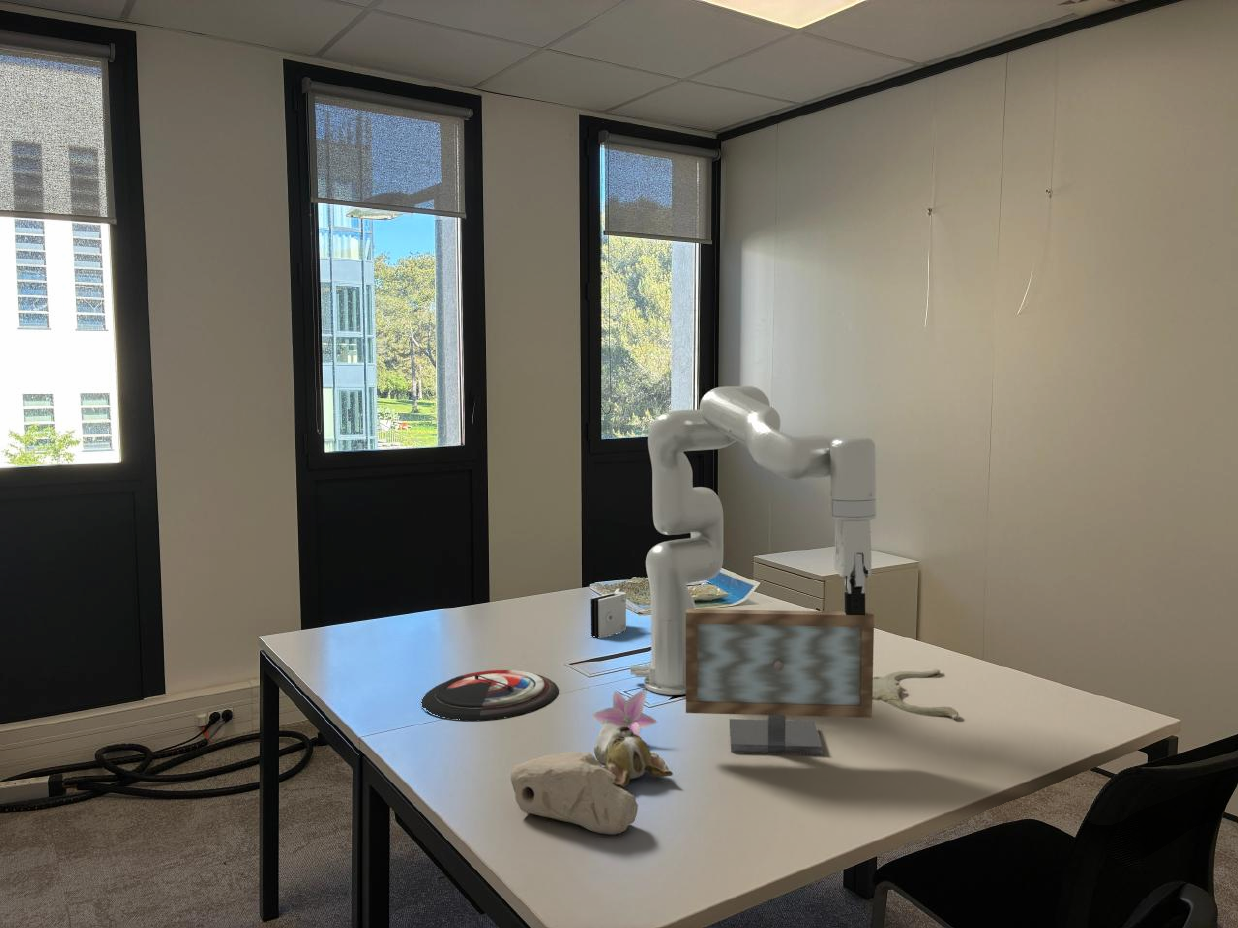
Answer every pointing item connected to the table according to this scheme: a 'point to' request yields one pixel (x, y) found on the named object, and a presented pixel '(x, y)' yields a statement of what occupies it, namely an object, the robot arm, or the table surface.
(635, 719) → the lily
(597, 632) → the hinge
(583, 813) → the decorative stone
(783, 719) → the frame stand
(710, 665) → the picture frame
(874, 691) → the decorative wall piece
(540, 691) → the wall clock
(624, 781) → the ceramic sculpture
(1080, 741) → the table surface
